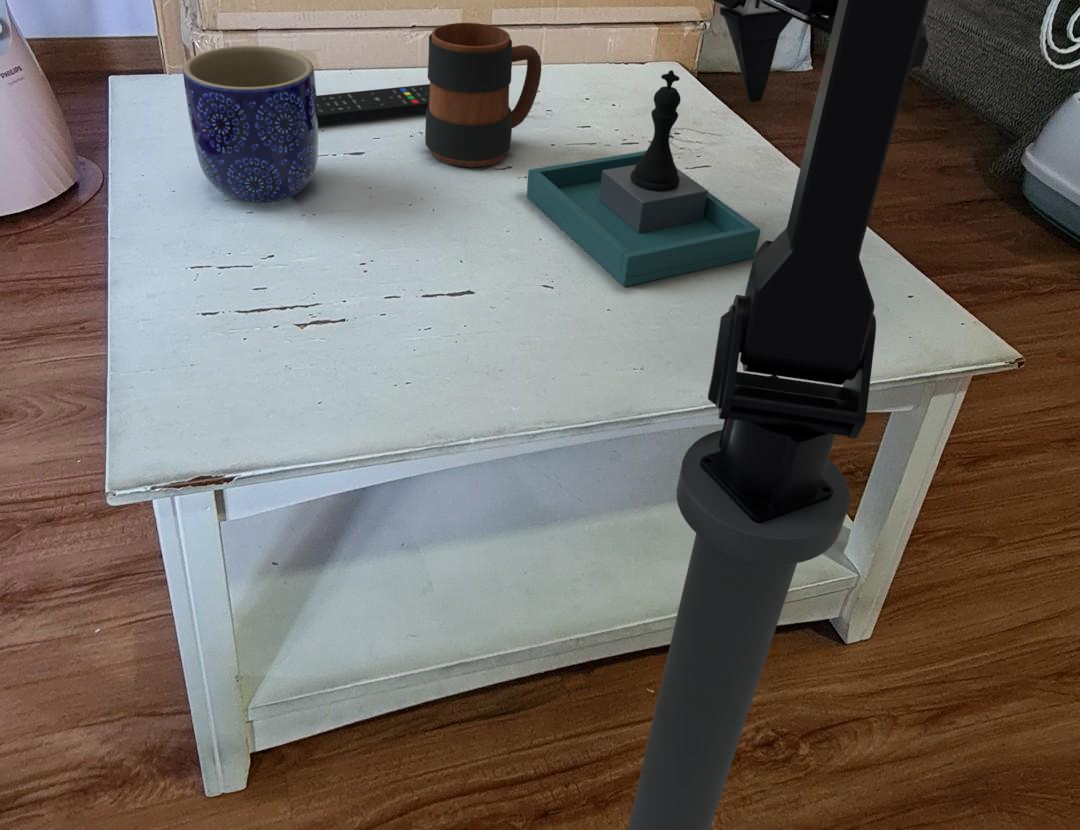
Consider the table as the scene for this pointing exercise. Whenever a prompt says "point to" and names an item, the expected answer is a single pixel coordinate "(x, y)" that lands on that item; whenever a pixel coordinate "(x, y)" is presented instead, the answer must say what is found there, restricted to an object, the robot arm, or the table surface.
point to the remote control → (372, 102)
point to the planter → (253, 120)
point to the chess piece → (660, 142)
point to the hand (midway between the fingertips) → (789, 121)
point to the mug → (475, 93)
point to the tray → (617, 245)
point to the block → (651, 201)
